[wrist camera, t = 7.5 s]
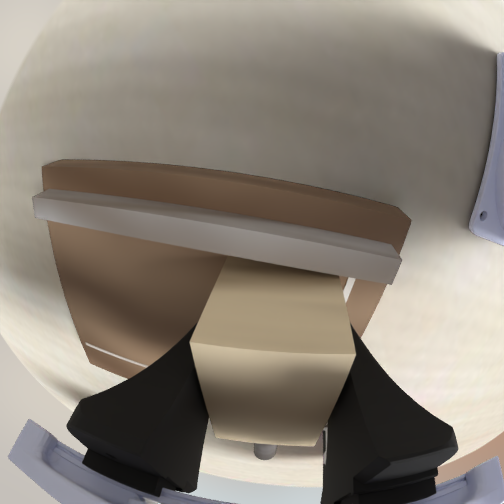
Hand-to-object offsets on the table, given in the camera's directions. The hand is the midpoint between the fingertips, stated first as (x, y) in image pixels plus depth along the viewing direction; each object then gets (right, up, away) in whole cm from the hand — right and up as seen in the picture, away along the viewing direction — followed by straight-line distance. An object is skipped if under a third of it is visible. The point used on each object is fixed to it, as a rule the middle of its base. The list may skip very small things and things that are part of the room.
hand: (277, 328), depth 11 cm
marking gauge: (0, -2, +1) cm, 2 cm away
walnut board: (-4, 0, +3) cm, 5 cm away
